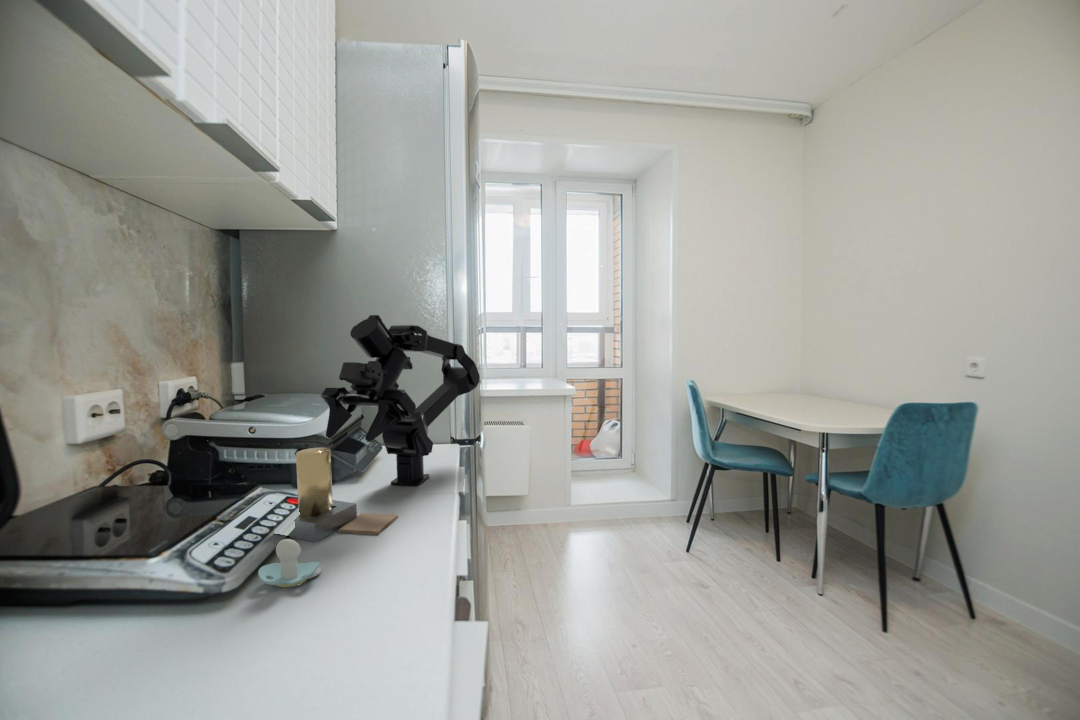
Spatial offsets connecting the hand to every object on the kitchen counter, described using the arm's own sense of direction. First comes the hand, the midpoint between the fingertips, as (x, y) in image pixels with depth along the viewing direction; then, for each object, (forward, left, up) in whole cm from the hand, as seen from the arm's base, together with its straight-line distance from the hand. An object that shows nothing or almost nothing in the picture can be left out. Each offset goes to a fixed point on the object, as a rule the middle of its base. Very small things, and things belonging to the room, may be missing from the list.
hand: (347, 439), depth 85 cm
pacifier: (+23, +6, -14) cm, 28 cm away
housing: (+7, -2, -13) cm, 15 cm away
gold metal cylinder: (+7, -2, -13) cm, 15 cm away
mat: (+5, +7, -13) cm, 16 cm away
